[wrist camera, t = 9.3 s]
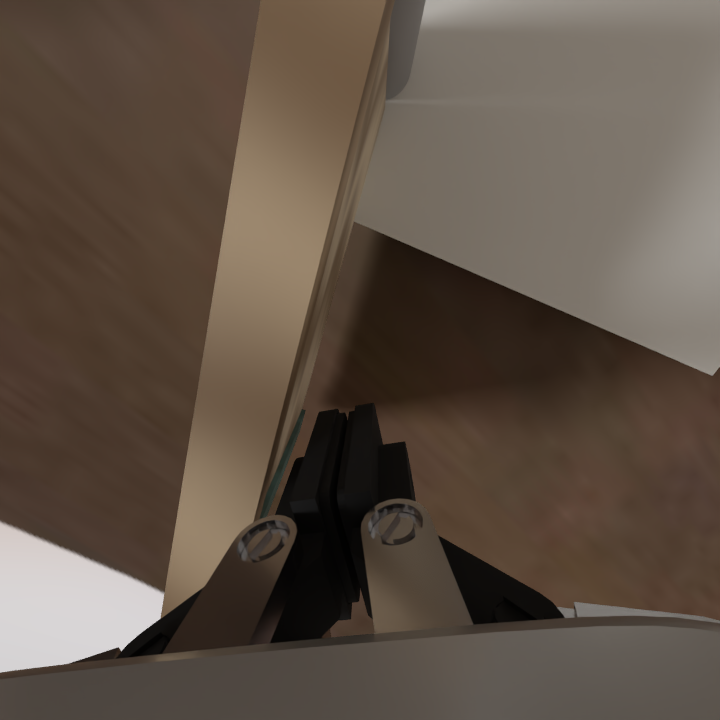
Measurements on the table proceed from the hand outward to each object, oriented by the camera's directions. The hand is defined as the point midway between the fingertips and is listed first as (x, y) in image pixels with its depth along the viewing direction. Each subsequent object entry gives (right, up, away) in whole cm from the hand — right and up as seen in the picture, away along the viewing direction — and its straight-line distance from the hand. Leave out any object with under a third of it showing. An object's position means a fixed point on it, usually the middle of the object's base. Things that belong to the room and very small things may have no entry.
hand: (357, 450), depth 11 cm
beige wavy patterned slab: (-2, +6, +7) cm, 9 cm away
